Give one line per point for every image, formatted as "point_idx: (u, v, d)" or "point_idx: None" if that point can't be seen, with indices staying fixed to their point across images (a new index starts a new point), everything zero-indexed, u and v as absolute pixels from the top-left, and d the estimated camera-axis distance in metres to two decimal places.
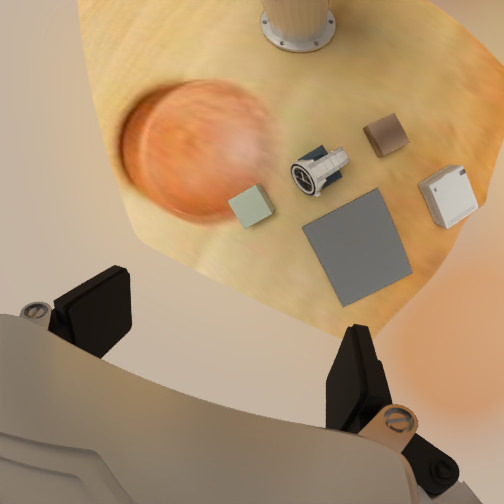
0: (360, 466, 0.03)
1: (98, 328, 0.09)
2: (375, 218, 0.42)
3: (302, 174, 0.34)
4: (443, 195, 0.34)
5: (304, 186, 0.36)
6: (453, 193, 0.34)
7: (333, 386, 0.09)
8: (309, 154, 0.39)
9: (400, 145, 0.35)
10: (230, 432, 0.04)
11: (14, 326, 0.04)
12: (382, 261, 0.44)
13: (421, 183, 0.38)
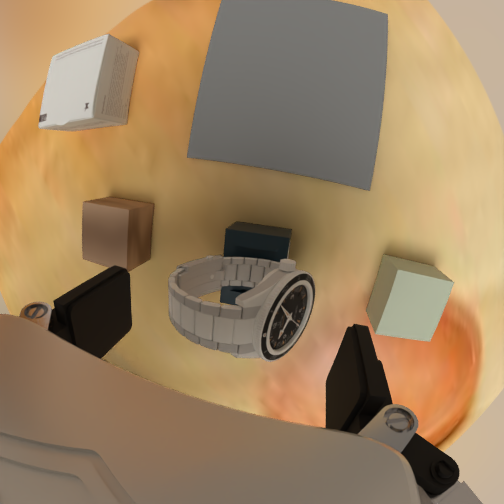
0: (360, 466, 0.03)
1: (98, 328, 0.09)
2: (226, 108, 0.19)
3: (281, 331, 0.14)
4: (81, 91, 0.16)
5: (300, 296, 0.14)
6: (67, 88, 0.16)
7: (333, 386, 0.09)
8: None
9: (97, 207, 0.20)
10: (230, 431, 0.04)
11: (15, 327, 0.04)
12: (265, 32, 0.17)
13: (115, 123, 0.20)
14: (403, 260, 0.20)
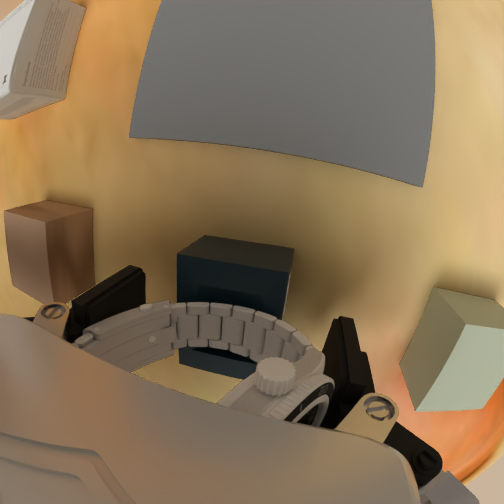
0: (360, 466, 0.03)
1: None
2: (187, 58, 0.11)
3: None
4: (3, 62, 0.08)
5: (304, 417, 0.06)
6: None
7: None
8: (228, 372, 0.12)
9: (16, 218, 0.11)
10: (230, 432, 0.04)
11: (15, 327, 0.04)
12: None
13: (48, 98, 0.12)
14: (461, 296, 0.11)
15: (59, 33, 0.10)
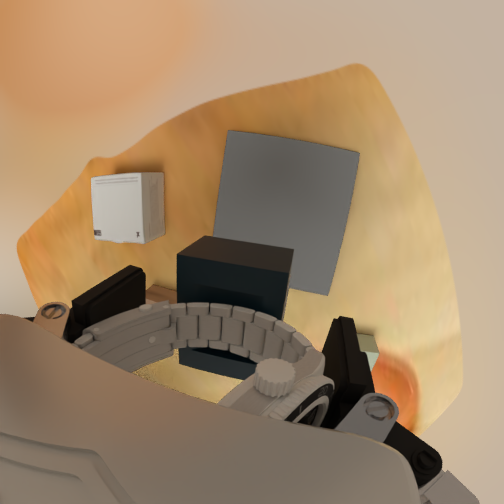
0: (360, 466, 0.03)
1: None
2: None
3: None
4: (130, 221, 0.28)
5: (304, 418, 0.06)
6: (116, 214, 0.28)
7: None
8: (228, 372, 0.12)
9: (150, 302, 0.32)
10: (230, 432, 0.04)
11: (15, 326, 0.04)
12: (261, 178, 0.29)
13: (158, 236, 0.32)
14: None
15: (157, 199, 0.30)
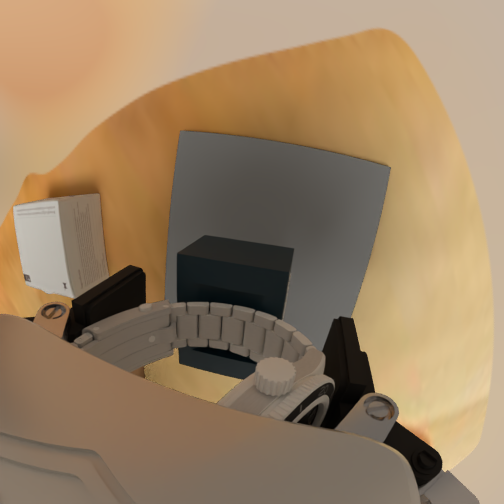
0: (360, 466, 0.03)
1: None
2: None
3: None
4: (54, 267, 0.18)
5: (304, 417, 0.06)
6: (39, 257, 0.18)
7: None
8: (228, 372, 0.12)
9: None
10: (230, 432, 0.04)
11: (15, 327, 0.04)
12: (231, 206, 0.18)
13: None
14: None
15: (89, 233, 0.20)
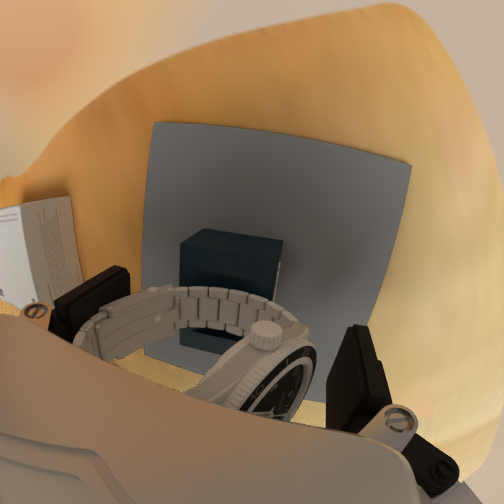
0: (360, 466, 0.03)
1: None
2: None
3: None
4: (22, 281, 0.14)
5: (291, 378, 0.07)
6: (8, 270, 0.15)
7: (333, 386, 0.09)
8: (224, 352, 0.13)
9: None
10: (231, 432, 0.04)
11: (15, 326, 0.04)
12: (214, 213, 0.15)
13: None
14: None
15: (58, 241, 0.16)
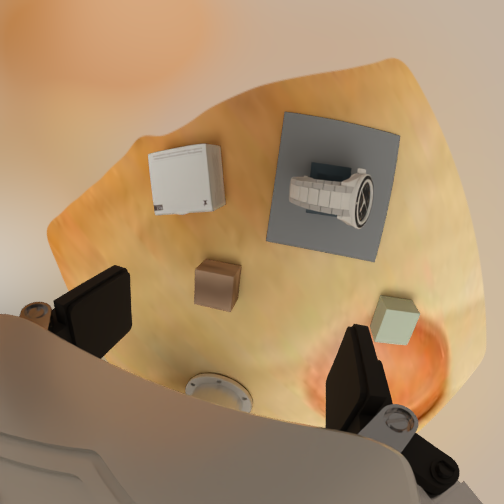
0: (360, 466, 0.03)
1: (98, 328, 0.09)
2: (291, 212, 0.33)
3: (360, 208, 0.23)
4: (195, 190, 0.30)
5: (368, 191, 0.23)
6: (179, 186, 0.31)
7: (333, 386, 0.09)
8: (328, 213, 0.29)
9: (208, 273, 0.35)
10: (230, 431, 0.04)
11: (15, 327, 0.04)
12: (316, 155, 0.31)
13: (220, 206, 0.34)
14: (392, 299, 0.34)
15: (218, 169, 0.32)
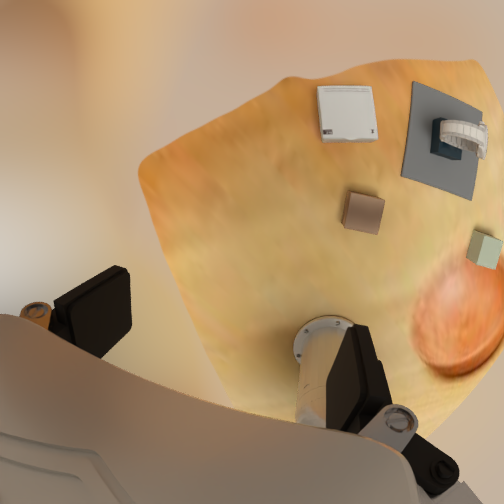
0: (360, 466, 0.03)
1: (98, 328, 0.09)
2: (420, 154, 0.35)
3: None
4: (364, 120, 0.32)
5: None
6: (350, 115, 0.32)
7: (333, 386, 0.09)
8: (451, 155, 0.31)
9: (362, 197, 0.36)
10: (230, 432, 0.04)
11: (15, 327, 0.04)
12: (435, 115, 0.32)
13: (371, 141, 0.35)
14: None
15: None
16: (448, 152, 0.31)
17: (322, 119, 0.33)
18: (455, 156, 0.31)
